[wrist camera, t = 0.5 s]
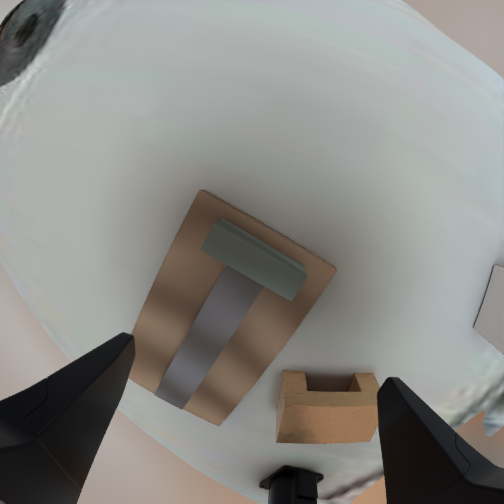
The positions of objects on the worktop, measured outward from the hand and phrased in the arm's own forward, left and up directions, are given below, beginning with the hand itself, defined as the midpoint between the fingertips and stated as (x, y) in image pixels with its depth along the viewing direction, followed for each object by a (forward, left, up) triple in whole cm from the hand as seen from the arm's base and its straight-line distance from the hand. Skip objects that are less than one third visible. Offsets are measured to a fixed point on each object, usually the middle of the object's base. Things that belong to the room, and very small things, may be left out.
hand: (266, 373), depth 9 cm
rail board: (-8, +1, -15) cm, 17 cm away
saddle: (-9, -12, -15) cm, 21 cm away
